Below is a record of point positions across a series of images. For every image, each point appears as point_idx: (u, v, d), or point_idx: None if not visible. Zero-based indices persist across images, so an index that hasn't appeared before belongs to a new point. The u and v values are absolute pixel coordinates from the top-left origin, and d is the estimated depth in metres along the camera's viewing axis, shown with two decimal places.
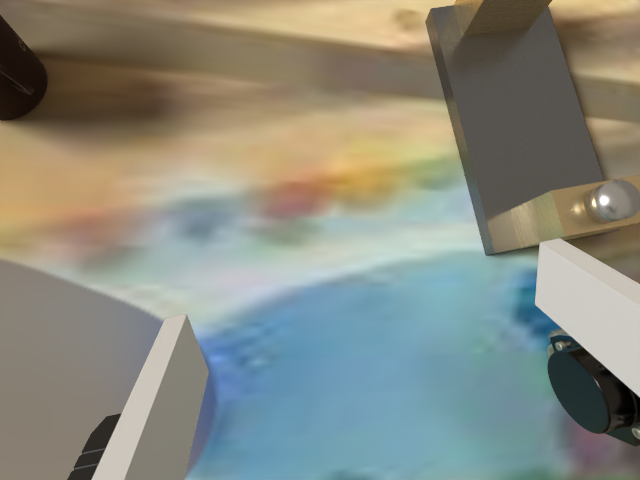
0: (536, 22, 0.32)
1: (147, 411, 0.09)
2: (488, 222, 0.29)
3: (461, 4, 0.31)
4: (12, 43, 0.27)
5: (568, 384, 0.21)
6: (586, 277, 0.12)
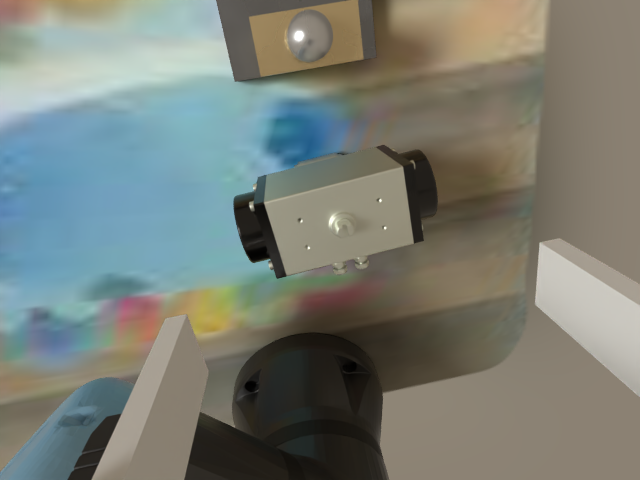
0: None
1: (147, 411, 0.09)
2: (228, 43, 0.25)
3: None
4: None
5: None
6: (586, 277, 0.12)
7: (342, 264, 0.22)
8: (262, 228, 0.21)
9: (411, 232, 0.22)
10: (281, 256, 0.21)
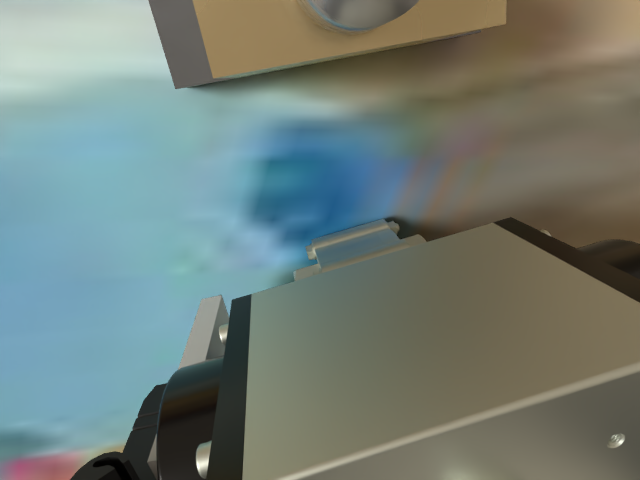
0: None
1: None
2: (154, 3, 0.11)
3: None
4: None
5: None
6: None
7: None
8: None
9: None
10: None
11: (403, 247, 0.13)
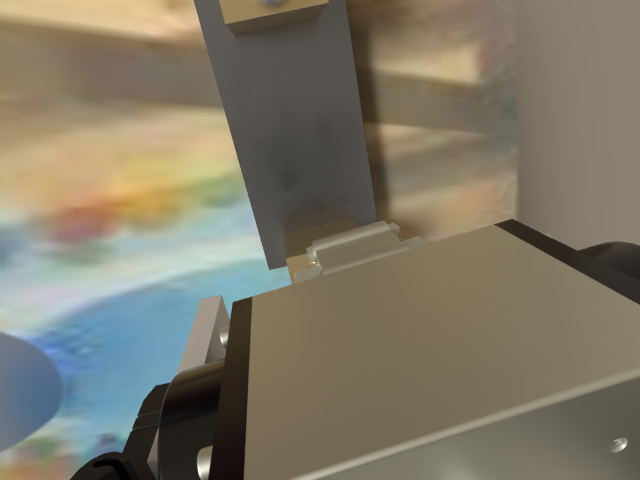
0: (326, 11, 0.26)
1: None
2: (264, 245, 0.32)
3: None
4: None
5: None
6: None
7: None
8: None
9: None
10: None
11: (404, 249, 0.13)
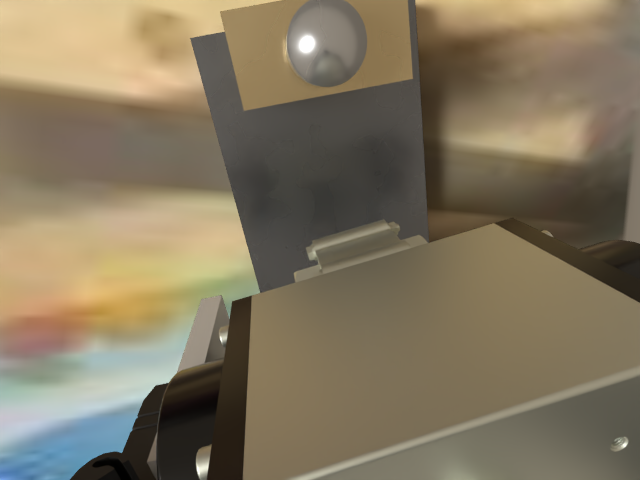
0: None
1: None
2: None
3: None
4: None
5: None
6: None
7: None
8: None
9: None
10: None
11: (404, 248, 0.13)
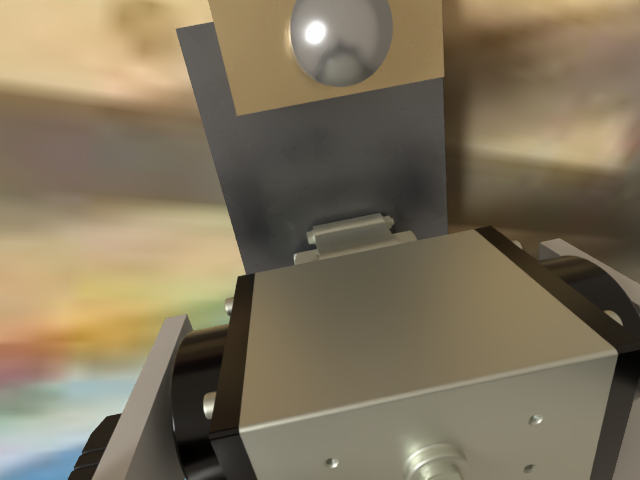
0: None
1: (147, 411, 0.09)
2: None
3: None
4: None
5: None
6: None
7: None
8: None
9: (588, 474, 0.09)
10: None
11: (393, 242, 0.15)
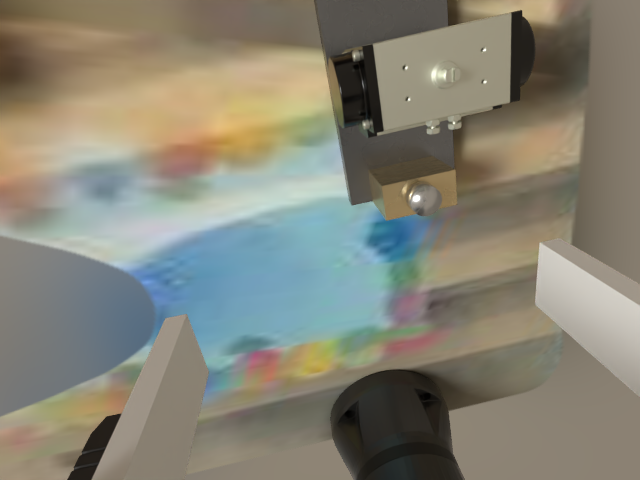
0: None
1: (147, 411, 0.09)
2: (349, 181, 0.35)
3: None
4: None
5: (334, 88, 0.24)
6: (586, 277, 0.12)
7: (437, 122, 0.23)
8: (367, 74, 0.21)
9: (509, 89, 0.22)
10: (381, 107, 0.22)
11: None
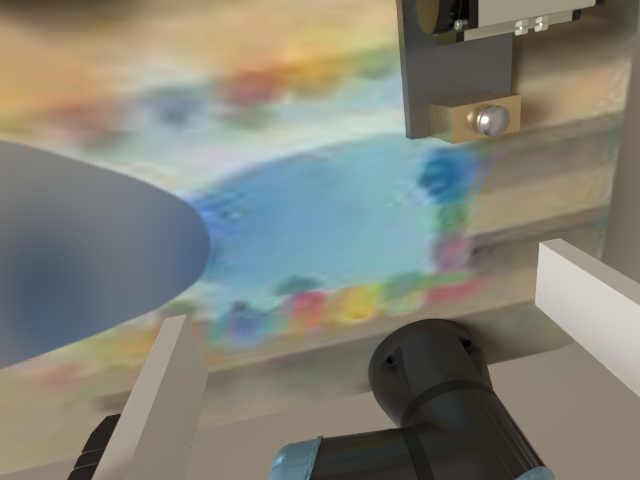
0: None
1: (147, 411, 0.09)
2: (410, 114, 0.36)
3: None
4: None
5: None
6: (586, 277, 0.12)
7: (527, 22, 0.24)
8: None
9: None
10: (479, 3, 0.23)
11: None
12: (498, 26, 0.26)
